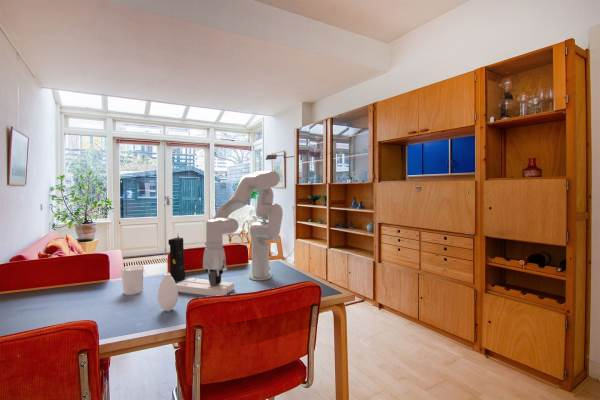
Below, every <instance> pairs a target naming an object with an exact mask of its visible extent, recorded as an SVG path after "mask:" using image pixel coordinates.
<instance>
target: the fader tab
mask: <svg viewBox="0 0 600 400" xmlns="http://www.w3.org/2000/svg"><path fill="white" fill-rule="evenodd" d="M216 276H217V271H216V270H212V271H210V285H211V286H217V285H218V284H216ZM219 284H220V283H219Z"/></svg>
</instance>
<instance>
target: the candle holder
mask: <svg viewBox="0 0 600 400" xmlns="http://www.w3.org/2000/svg"><path fill="white" fill-rule="evenodd" d="M144 268H145V267H144V265H141V264H134V265H133V264H132V265H127V266H123V267H121V268H120V271H121V273H120V274H121V283H122V284H121V285H122V289H123V290H122V291H123V294H124V295H127V296H128V295H129V296H130V295H132V296H133V295H136V294H137V295H138V294H140V293H142V292H143V290H144V288H143V287H144V270H145V269H144Z"/></svg>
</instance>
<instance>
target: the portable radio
mask: <svg viewBox="0 0 600 400" xmlns="http://www.w3.org/2000/svg"><path fill="white" fill-rule="evenodd" d="M167 241H168V246H169V258H170V261H169V265H170V270H169V271H170V273H169V274H171V276H172V277H173V279H174V281H175V282H180V281H182V280H183V279H185V278H186V269H185V268H186V267H185V258H184V257H185V256H184V254H185V252H184V250H185V249H184V237H180V236H179V233H177V237H174V238H170V239H168V240H167Z"/></svg>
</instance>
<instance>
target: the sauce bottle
mask: <svg viewBox="0 0 600 400" xmlns="http://www.w3.org/2000/svg"><path fill="white" fill-rule="evenodd" d="M163 276H164V277H162V278H161V281H160V283H159V286H158V291H157V302H158V305H159V307H160V308H161V310H163V311H165V312H170V311H171V310H173V309H174V308H175V307H176V306H177V303H178V299H179V294H178V289H177V285H176V284H177V283H176V281H174V279H173V277H172V276H171V274H170V273H169V268H168V267H167V268H166V273H164V275H163Z"/></svg>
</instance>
